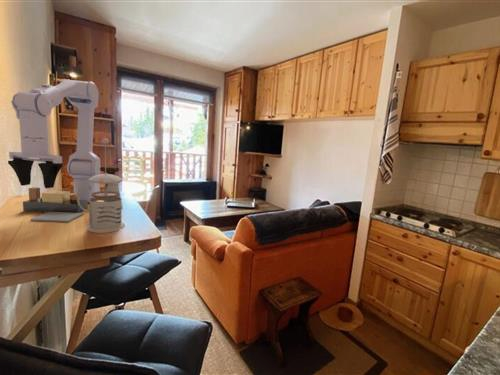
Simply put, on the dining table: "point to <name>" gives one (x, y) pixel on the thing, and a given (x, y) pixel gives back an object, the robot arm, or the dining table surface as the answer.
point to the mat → (57, 217)
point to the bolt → (109, 170)
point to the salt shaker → (115, 188)
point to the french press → (104, 204)
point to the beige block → (56, 196)
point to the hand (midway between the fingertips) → (37, 186)
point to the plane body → (39, 206)
